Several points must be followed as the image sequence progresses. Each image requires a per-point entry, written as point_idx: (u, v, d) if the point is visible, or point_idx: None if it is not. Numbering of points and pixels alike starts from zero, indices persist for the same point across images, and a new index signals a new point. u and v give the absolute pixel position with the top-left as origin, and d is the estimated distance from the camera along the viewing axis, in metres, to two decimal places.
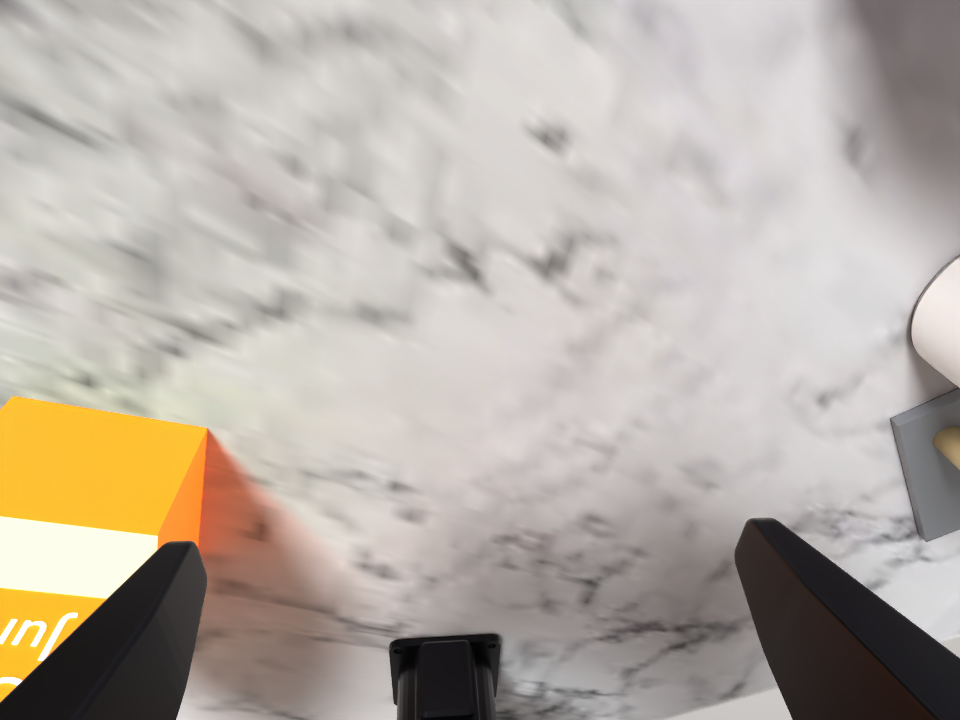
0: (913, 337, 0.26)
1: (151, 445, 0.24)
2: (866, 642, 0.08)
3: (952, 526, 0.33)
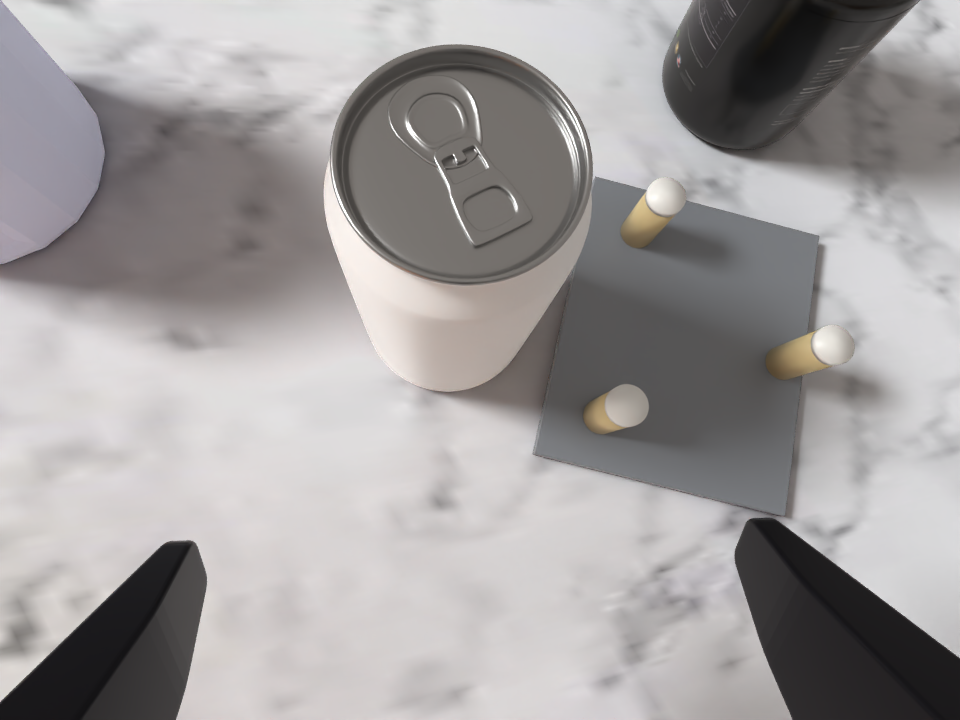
0: (421, 386, 0.23)
1: None
2: (866, 642, 0.08)
3: (776, 475, 0.24)
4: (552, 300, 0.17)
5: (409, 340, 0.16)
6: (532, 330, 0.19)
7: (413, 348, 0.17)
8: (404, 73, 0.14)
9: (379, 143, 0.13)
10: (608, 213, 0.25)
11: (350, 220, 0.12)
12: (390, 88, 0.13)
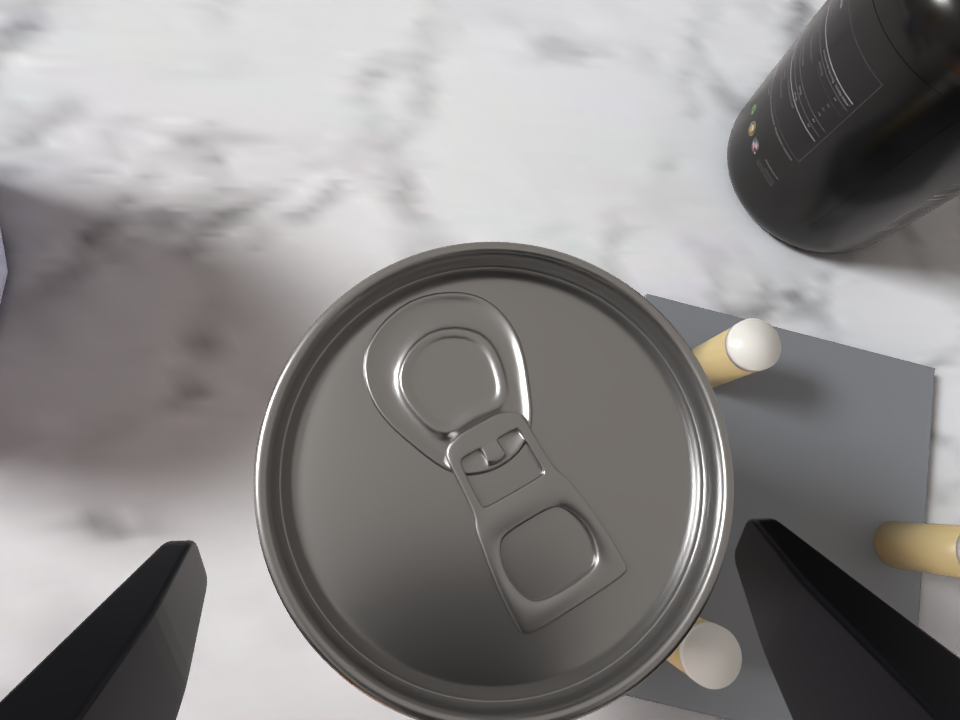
0: None
1: None
2: (866, 642, 0.08)
3: None
4: None
5: None
6: None
7: None
8: (393, 289, 0.08)
9: (348, 428, 0.07)
10: None
11: (289, 608, 0.06)
12: (369, 319, 0.08)
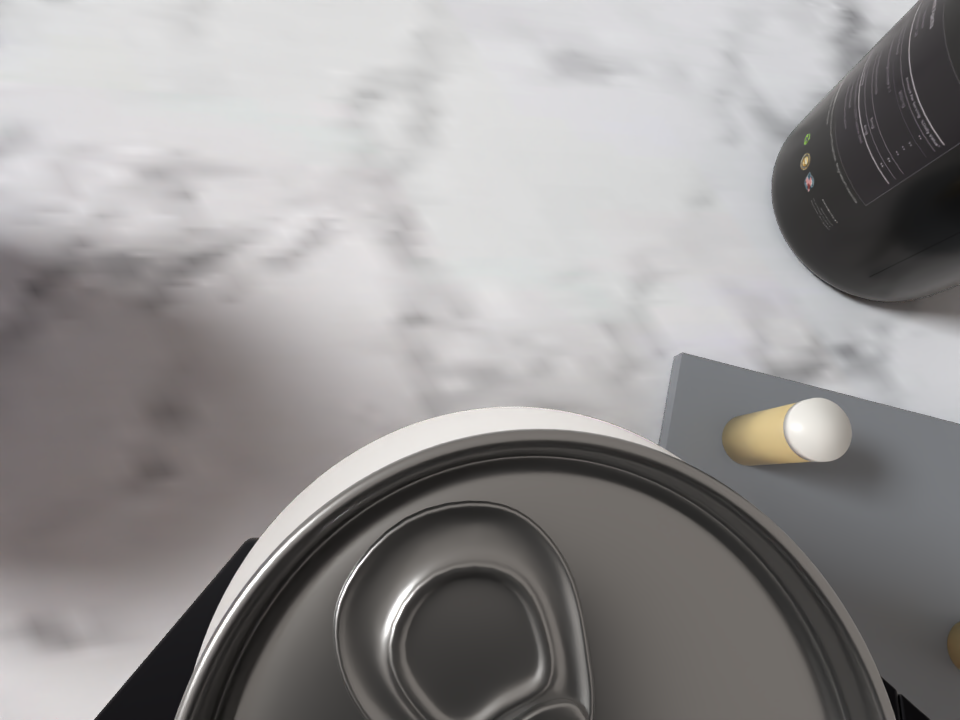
0: None
1: None
2: None
3: None
4: None
5: None
6: None
7: None
8: (380, 499, 0.05)
9: None
10: (703, 410, 0.17)
11: None
12: (342, 550, 0.05)
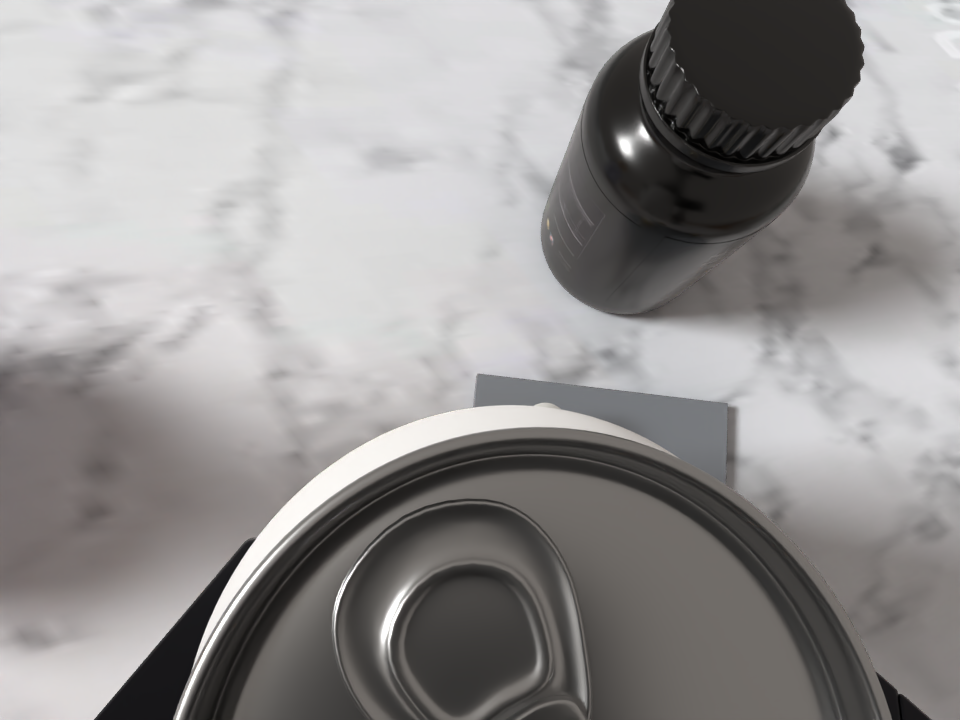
0: None
1: None
2: None
3: None
4: None
5: None
6: None
7: None
8: (380, 496, 0.05)
9: None
10: None
11: None
12: (341, 547, 0.05)
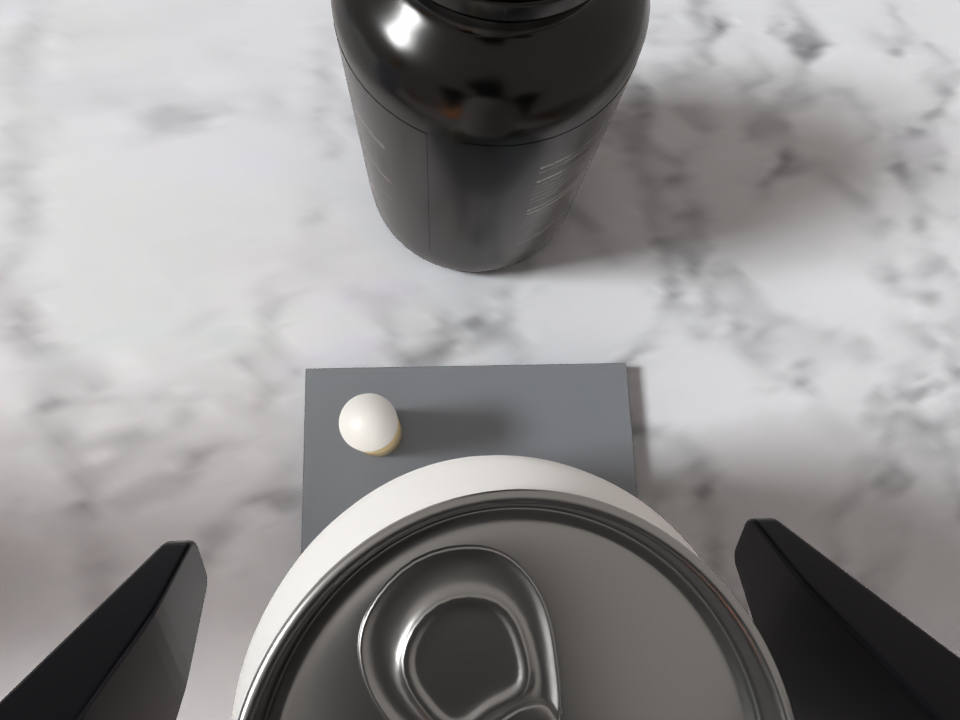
0: None
1: None
2: (866, 642, 0.08)
3: None
4: None
5: None
6: None
7: None
8: (395, 543, 0.06)
9: None
10: (334, 417, 0.18)
11: None
12: (364, 584, 0.06)
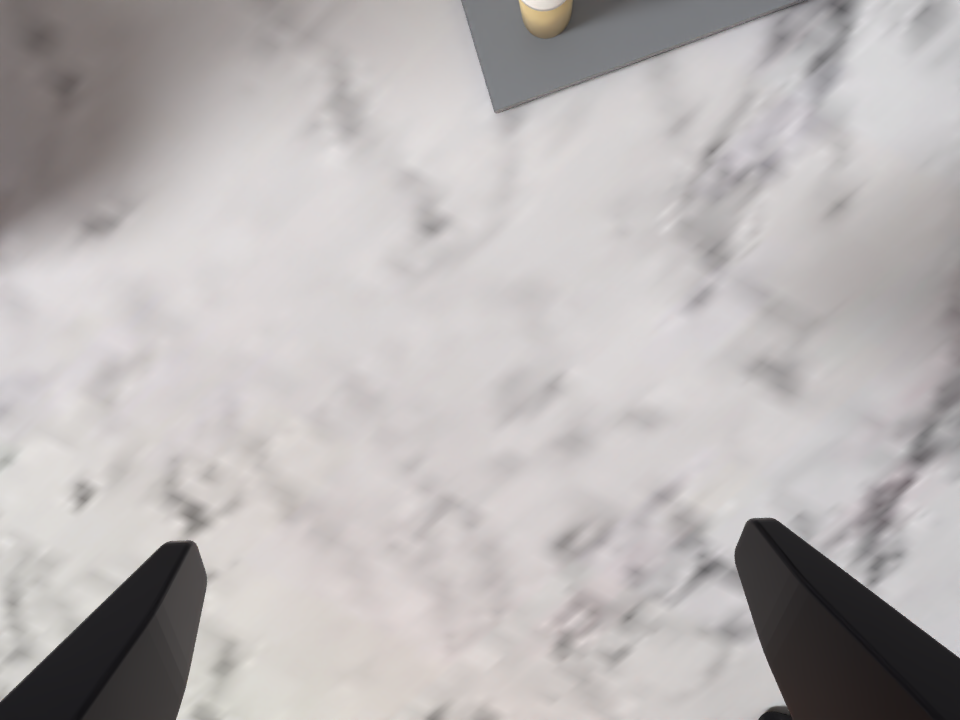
0: None
1: None
2: (866, 642, 0.08)
3: None
4: None
5: None
6: None
7: None
8: None
9: None
10: None
11: None
12: None
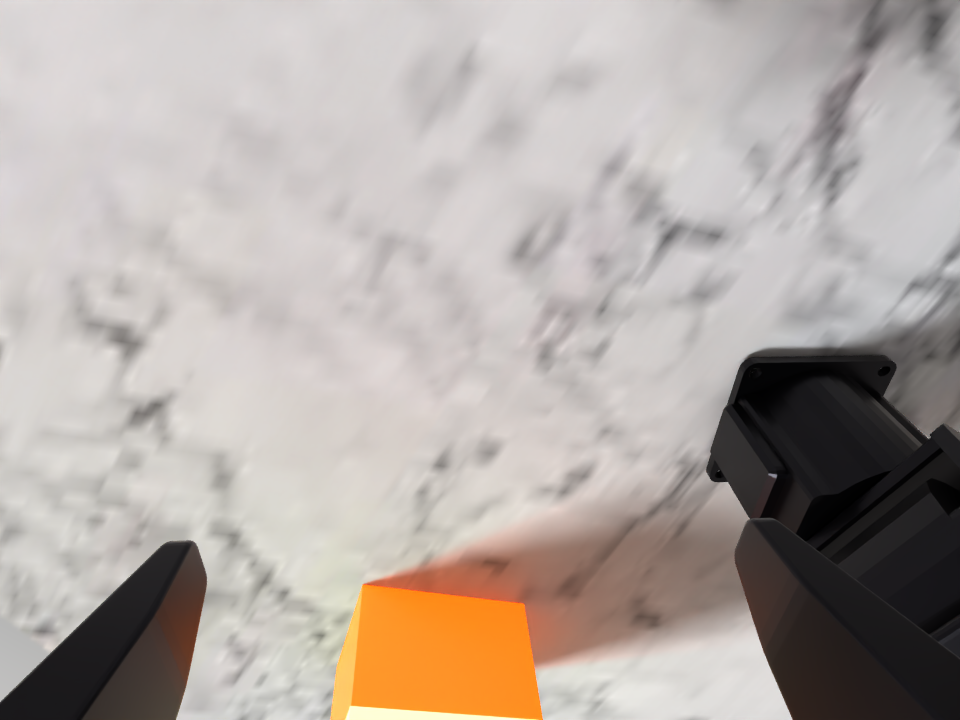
0: None
1: (353, 632, 0.30)
2: (866, 642, 0.08)
3: None
4: None
5: None
6: None
7: None
8: None
9: None
10: None
11: None
12: None
